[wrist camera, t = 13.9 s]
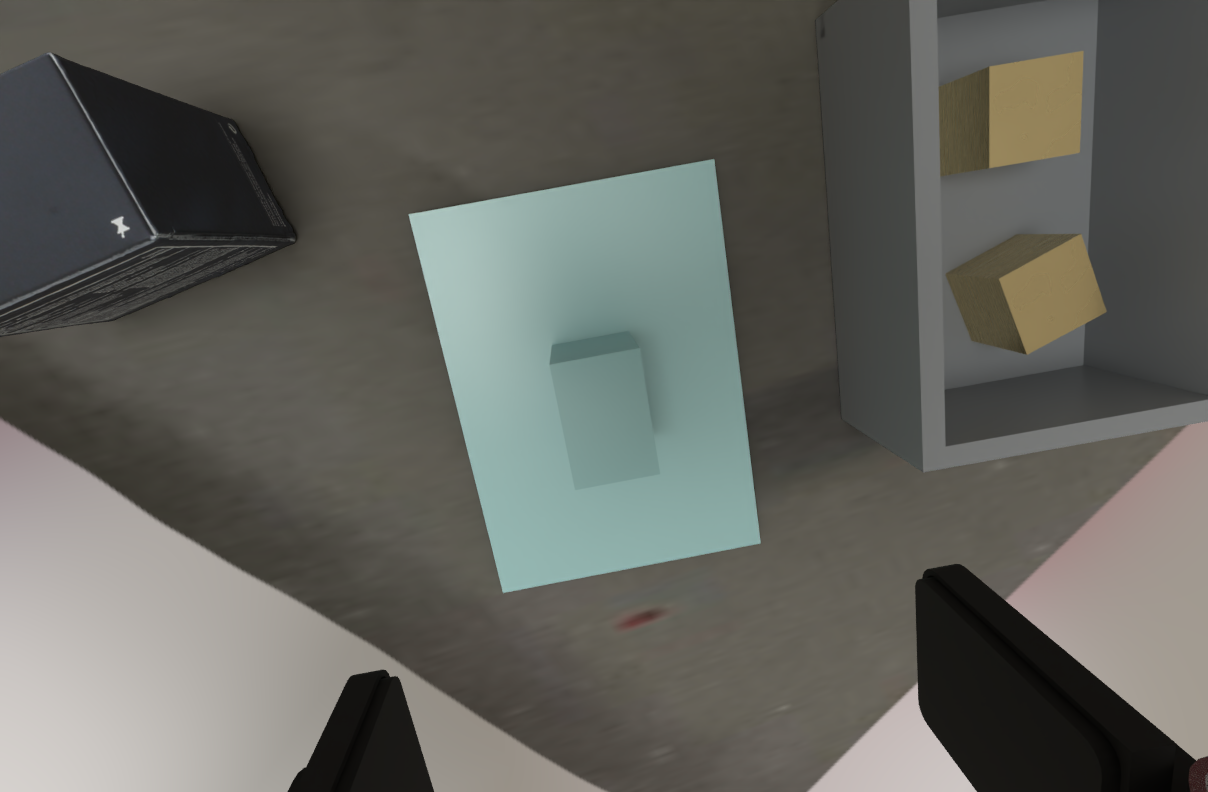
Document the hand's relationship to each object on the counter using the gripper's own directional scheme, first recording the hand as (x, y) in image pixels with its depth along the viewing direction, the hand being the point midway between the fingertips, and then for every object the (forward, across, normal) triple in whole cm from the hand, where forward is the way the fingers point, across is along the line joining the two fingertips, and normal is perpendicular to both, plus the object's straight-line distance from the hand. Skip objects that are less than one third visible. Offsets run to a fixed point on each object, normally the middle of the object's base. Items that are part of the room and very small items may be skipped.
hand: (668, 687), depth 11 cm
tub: (+23, -20, -6) cm, 31 cm away
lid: (+23, 0, 0) cm, 23 cm away
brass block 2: (+22, -21, -2) cm, 30 cm away
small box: (+23, +19, -12) cm, 32 cm away
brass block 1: (+22, -20, -10) cm, 31 cm away
